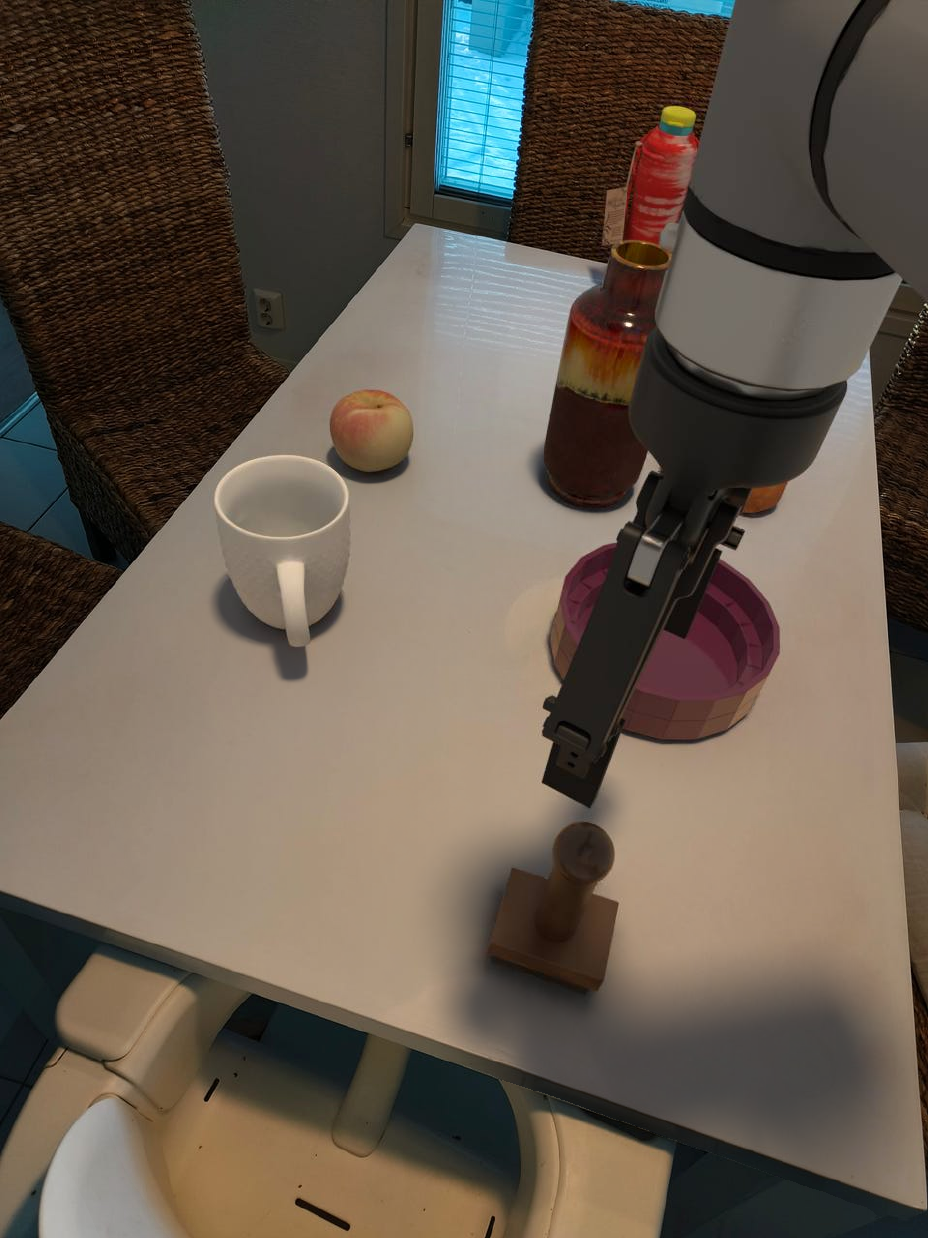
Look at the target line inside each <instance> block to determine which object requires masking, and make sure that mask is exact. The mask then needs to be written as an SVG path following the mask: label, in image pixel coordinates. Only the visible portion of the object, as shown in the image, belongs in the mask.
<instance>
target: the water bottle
mask: <svg viewBox="0 0 928 1238" xmlns="http://www.w3.org/2000/svg"><path fill="white" fill-rule="evenodd" d="M661 111H662V112H661V116H660V121H659V124H658V125H656V126H655V128H654V129H651V130H649V131H648V132H647V134H645V135H644V136H643V137H642V138H641V139H640V140H636V142H635V149H634V152H633V156H632V159H631V163H630V168H629V172H628V176H627V181H626V185H625V186H621V187H618V188H613V189H609V190H607V191H606V201H605V211H604V220H603V231H602V242H601V246H608V247H612V246H613V245H614V244H616V243H618V242H620V241H625V240H640V241H647V242H651V243H654V244H657V245H659V234H660V233H661V232H662V231H663V229H664V228H665V226H666V225H667V223H677V224H679V221H680V218H681V214H682V211H683V204H684V201H685V197H686V194H687V190H688V186H689V182H690V180H691V173H692V169H693V165H694V161H695V157H696V153H697V149H698V145H699V141H700V140H699V139H698V138H697V137H696V136H695V133H694V130H693V128H694V125H695V122H696V118H697V114H696V113H695V111H693V110H692V109H690V108H687V107H683V106H678V105H671V106H670V105H669V106H666V107H664V108H663V109H662V110H661ZM632 188H633V189H632ZM632 190H633V191H632ZM631 191H632V200H631V205H630V209H629V207H628V205H629V201H630V197H631ZM628 213H629V214H628Z"/></svg>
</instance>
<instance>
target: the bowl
mask: <svg viewBox="0 0 928 1238" xmlns="http://www.w3.org/2000/svg"><path fill="white" fill-rule="evenodd" d="M616 544H617V541H616V542H612V543H608V544H604V545H601V546H599V547H597V548H596V549H594V550H592V551H590V552H589V553H587V554H585V555H583V556H582V557H580V558H579V559H578V561H576V563H575V564H574V565H573V567H571V569H570V570H569V571H568V572H567V574H566V575H565V577H564V581H563V584H562V588H561V592H560V595H559V599H558V605H557V608H556V612H555V615H554V620H553V623H552V624H553V625H552V629H551V632H550V635H549V636H550V637H549V642H550V647H551V653H552V659H553V664H554V667H555V668H556V670H557V673H559V675H560V677H561V679H562V680H563V681H564V678H565V676H566V673H567V671H568V669H569V666H570V664H571V661H572V659H573V656H574V654H575V651H576V649H577V647H578V644H579V642H580V639H581V637H582V634H583V632H584V629H585V627H586V625H587V622H588V620H589V617H590V615H591V612H592V610H593V607H594V605H595V603H596V600H597V598H598V595H599V593H600V590H601V588H602V586H603V583H604V581H605V578H606V575H607V572H608V569H609V566H610V563H611V560H612V557H613V554H614V550H615V547H616ZM780 655H781V627H780V624H779V623H778V620H777V618H776V615H775V613H774V610H773V608H772V606H771V603H770V602H769V600H767V598H766V597H765V596H764V594H763V593H762V592H761V591H760V590H759V588H758V587H757V586H756V585H755V584H754V583H753V581H752V580H750V578H748V577H747V576H746V575H745V574H743V573H741V572H740V571H739V570H737V569H736V568H735V567H733V566H732V565H731V564H729V563H728V562H726V561H725V560H723V559H721V558H720V559H719V561H718V564H717V566H716V568H715V571H714V573H713V576H712V578H711V580H710V583H709V585H708V587H707V590H706V592H705V595H704V597H703V599H702V602H701V604H700V607H699V609H698V611H697V614H696V616H695V619H694V621H693V623H692V626H691V628H690V630H689V633H688V634H687V636H686V638H685V639H683V638H681V637H679V636H676V635H674V634H672V633H670V632H668V631H665V630H663V631H662V633H661V635H660V637H659V640H658V642H657V644H656V646H655V648H654V650H653V652H652V654H651V656H650V659H649V661H648V663H647V665H646V667H645V669H644V671H643V673H642V675H641V678H640V680H639V682H638V684H637V686H636V688H635V690H634V692H633V694H632V696H631V699H630V701H629V703H628V705H627V707H626V709H625V711H624V713H623V715H622V718H623V719H625V720H626V721H625V723H624V726H623V729H622V730H626V731H629V732H632V733H635V734H639V735H644V736H647V737H651V738H655V739H659V740H698V739H702V738H704V737H708V736H712V735H715V734H718V733H722V732H724V731H727V730H728V729H729V728H731V727H733V725H735V724H736V723H737V722H738V721H740V720H741V719H743V717H745V716H746V715H747V714H748V713H749V712H750V710H751V708H752V707H753V705H754V703H755V701H756V700H757V697H758V696H759V693H760V692H761V690H762V689H763V687H764V684H765V683H766V681H767V679H768V677H769V676H770V674H771V671H772V670H773V668H774V665H775V664H776V662H777V660H778V658H779V656H780Z"/></svg>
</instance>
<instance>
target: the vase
mask: <svg viewBox="0 0 928 1238" xmlns="http://www.w3.org/2000/svg"><path fill="white" fill-rule="evenodd" d="M671 257H672V253H670V252H667V251H665V250H663V249H661V247H660V245H657V244H654V243H651V242H647V241H640V240H625V241H620V242H618V243H616V244H614V245H613V246H611V249H610V251H609V255H608V260H607V264H606V267H605V273H604V277H603V281H602V283H600V284H596V285H594V286H591V287H590V288H588V289H586V290H585V291H583V292H582V293H581V294H580V295H578V297H576V298H575V300H573V303H572V304H571V306H570V309H569V314H568V319H567V322H566V328H565V332H564V337H563V343H562V348H561V354H560V359H559V364H558V368H557V369H558V370H557V375H556V379H555V385H554V391H553V396H552V401H551V407H550V411H549V418H548V423H547V427H546V434H545V439H544V446H543V452H542V461H543V464H544V468H545V469H546V471H547V477H546V478H547V483H548V486H549V488H550V490H551V491H552V493H553V494H555V495H556V496H557V497H558V498H559V499H561V500H563V501H565V502H566V503H568V504H571V505H573V506H576V507H580V508H585V509H604V508H609V507H612V506H615V505H616V504H618V503H620V502H621V501H622V500H623V499H624V498H625V497H626V493H627V490H629V489H630V488H632V487H633V486H634V485H635V484H637V482H638V480H639V479H640V477H641V473H642V471H643V468H644V465H645V463H646V460H647V459H646V458H647V456H648V453H649V451H648V450H647V449H645V448H644V446H643V445H642V444H641V443H640V442H639V440H638V439H637V437H636V436H635V434H634V432H633V430H632V427H631V425H630V421H629V403H630V399H631V395H632V391H633V388H634V384H635V380H636V376H637V373H638V369H639V365H640V361H641V357H642V354H643V350H644V346H645V342H646V339H647V337H648V334H649V333H650V332H651V330H652V329H653V328H654V327H655V326H657V324H656V320H655V310H656V306H657V303H658V299H659V295H660V291H661V288H662V284H663V280H664V277H665V273H666V271H667V269H668V268H669V265H670V261H671Z"/></svg>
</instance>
